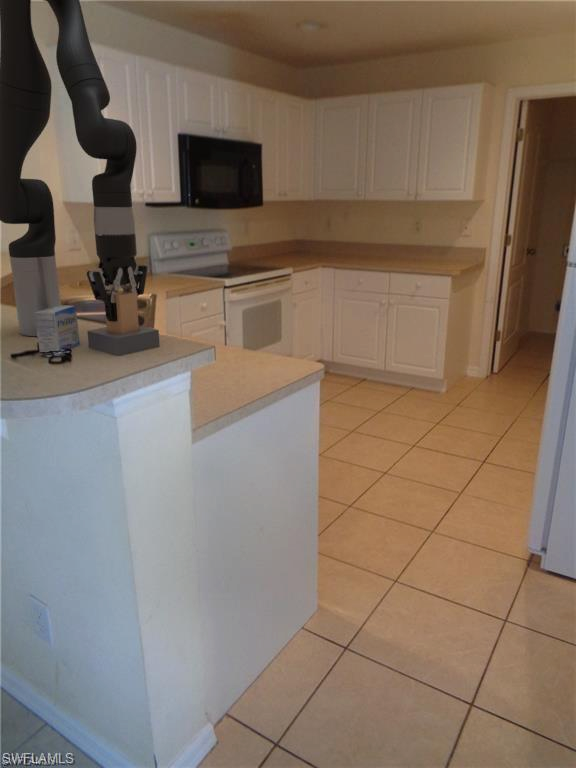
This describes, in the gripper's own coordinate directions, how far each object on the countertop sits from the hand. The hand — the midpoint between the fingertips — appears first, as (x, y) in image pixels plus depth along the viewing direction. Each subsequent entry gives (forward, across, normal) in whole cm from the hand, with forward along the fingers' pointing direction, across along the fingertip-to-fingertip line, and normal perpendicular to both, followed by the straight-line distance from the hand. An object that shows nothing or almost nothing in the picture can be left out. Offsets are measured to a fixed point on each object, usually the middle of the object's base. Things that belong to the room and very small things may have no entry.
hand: (122, 318), depth 114 cm
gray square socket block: (+6, 0, 0) cm, 6 cm away
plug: (+5, 0, 0) cm, 5 cm away
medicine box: (+7, +8, -10) cm, 14 cm away
